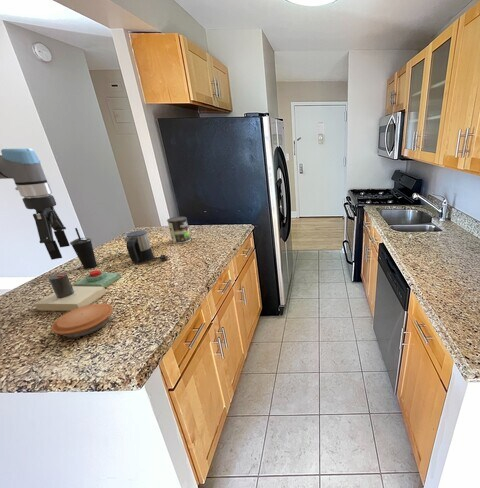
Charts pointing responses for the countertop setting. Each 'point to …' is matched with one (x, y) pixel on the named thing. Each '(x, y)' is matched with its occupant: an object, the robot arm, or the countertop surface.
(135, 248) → the milk frother
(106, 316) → the pie
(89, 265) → the drinking cup
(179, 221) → the coffee can
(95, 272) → the button
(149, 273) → the countertop surface
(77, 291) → the hob console
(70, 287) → the hob knob
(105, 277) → the red push button panel
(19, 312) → the countertop surface
